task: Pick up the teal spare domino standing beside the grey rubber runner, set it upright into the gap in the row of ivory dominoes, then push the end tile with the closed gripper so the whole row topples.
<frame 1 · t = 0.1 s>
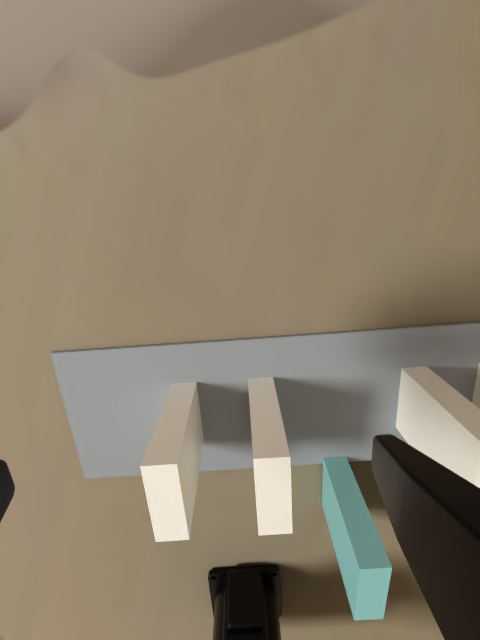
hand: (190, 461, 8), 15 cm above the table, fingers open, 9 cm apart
spare domino: (333, 480, 26), on the table, touching runner mat
domino 2: (410, 397, 24), resting on runner mat
domino 4: (188, 412, 24), resting on runner mat
domino 3: (261, 407, 24), resting on runner mat
runner mat: (314, 401, 24), on the table
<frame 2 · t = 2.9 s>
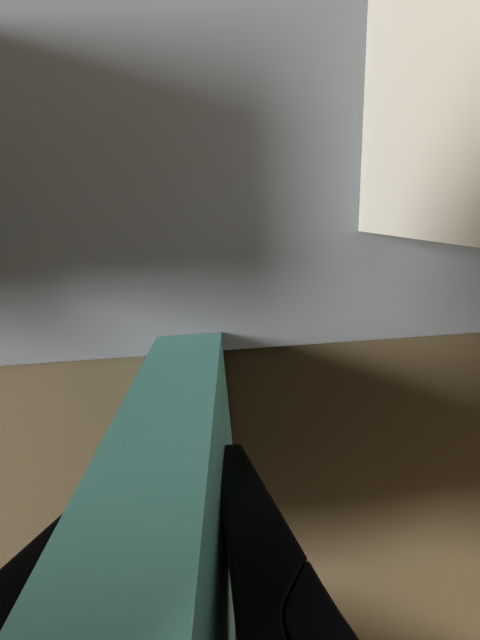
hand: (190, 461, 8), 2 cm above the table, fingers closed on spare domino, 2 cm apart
spare domino: (199, 408, 10), on the table, touching gripper, runner mat
domino 2: (402, 115, 7), resting on runner mat
runner mat: (103, 141, 8), on the table
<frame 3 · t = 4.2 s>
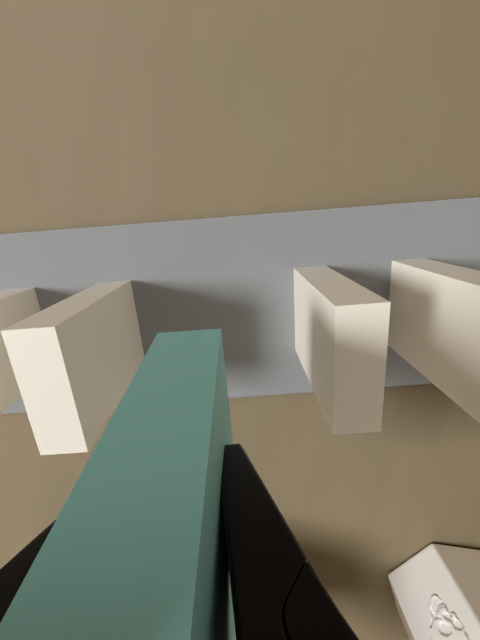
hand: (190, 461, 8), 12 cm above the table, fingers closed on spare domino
jar: (437, 576, 27), on the table
spare domino: (199, 404, 10), point 10 cm above the table, touching gripper
domino 2: (309, 309, 19), resting on runner mat
domino 1: (404, 302, 19), resting on runner mat
domino 4: (30, 329, 19), resting on runner mat
domino 3: (123, 323, 19), resting on runner mat
runner mat: (191, 316, 19), on the table
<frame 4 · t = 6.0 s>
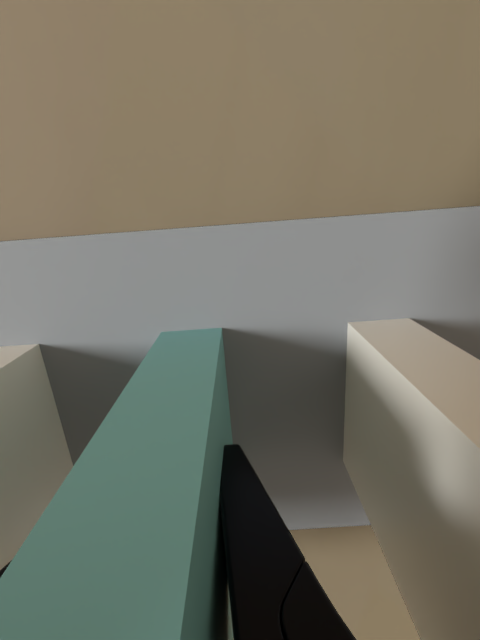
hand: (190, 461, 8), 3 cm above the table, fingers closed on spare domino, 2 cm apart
spare domino: (200, 403, 10), resting on runner mat, touching gripper
domino 2: (373, 394, 10), resting on runner mat
domino 3: (31, 417, 10), resting on runner mat
runner mat: (156, 404, 11), on the table
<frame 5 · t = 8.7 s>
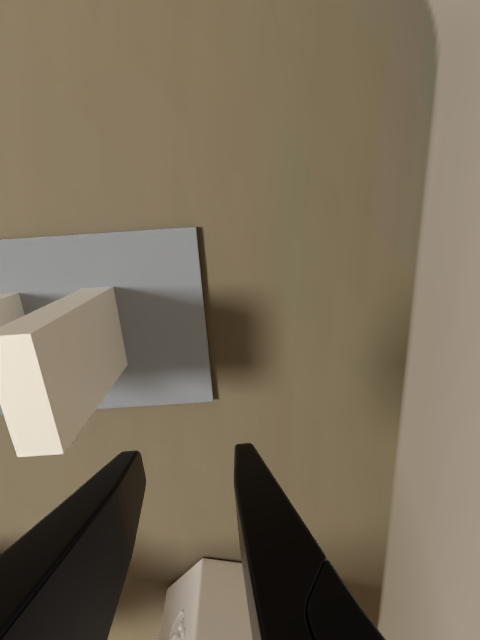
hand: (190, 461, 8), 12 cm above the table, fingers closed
jar: (220, 590, 27), on the table
domino 2: (14, 334, 19), resting on runner mat
domino 1: (105, 328, 19), resting on runner mat
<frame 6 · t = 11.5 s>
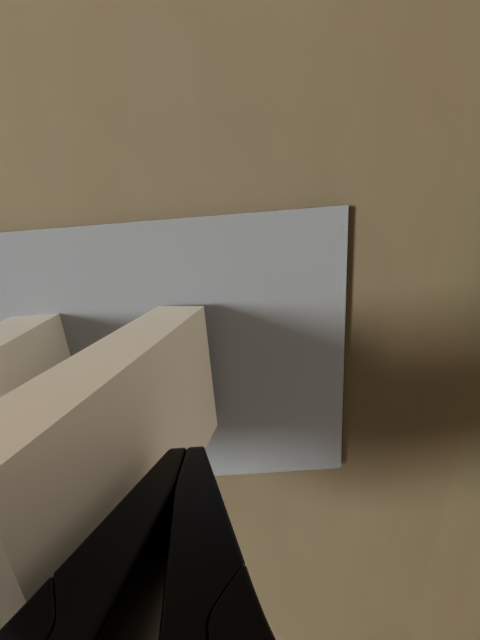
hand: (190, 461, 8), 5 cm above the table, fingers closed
domino 2: (52, 375, 13), resting on runner mat
domino 1: (189, 368, 12), point 1 cm above the table, tilted 15°, touching runner mat
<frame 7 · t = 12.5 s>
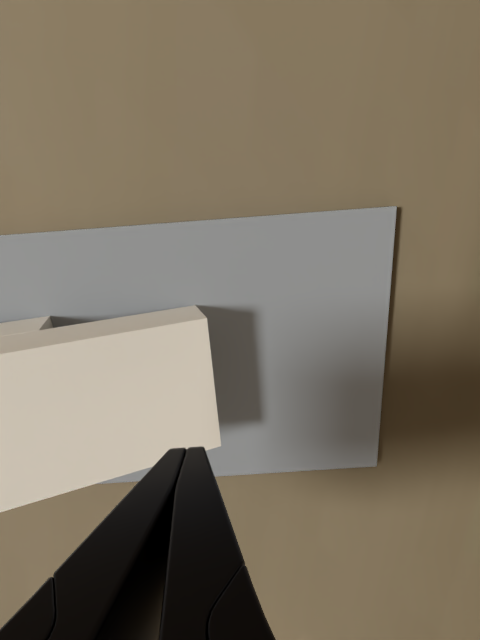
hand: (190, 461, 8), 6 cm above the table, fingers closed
domino 2: (61, 385, 12), point 1 cm above the table, tilted 71°, touching domino 1, runner mat, spare domino
domino 1: (208, 375, 12), point 1 cm above the table, tilted 71°, touching domino 2, runner mat
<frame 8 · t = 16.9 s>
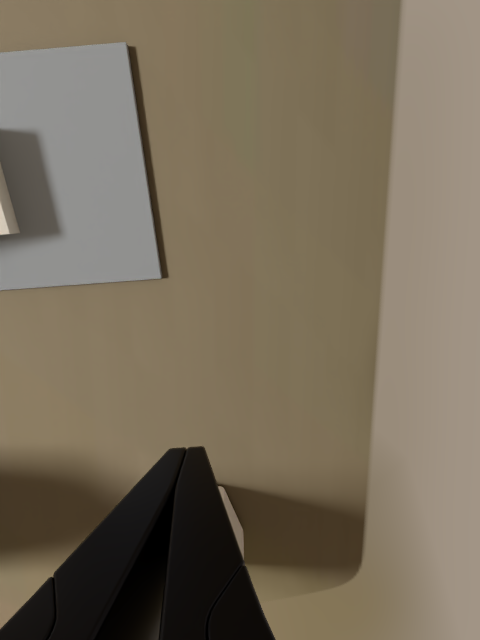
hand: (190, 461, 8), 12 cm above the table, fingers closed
jar: (185, 518, 25), on the table
domino 1: (0, 180, 16), point 1 cm above the table, tilted 71°, touching domino 2, runner mat
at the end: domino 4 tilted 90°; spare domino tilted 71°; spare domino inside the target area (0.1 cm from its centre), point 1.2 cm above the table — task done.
